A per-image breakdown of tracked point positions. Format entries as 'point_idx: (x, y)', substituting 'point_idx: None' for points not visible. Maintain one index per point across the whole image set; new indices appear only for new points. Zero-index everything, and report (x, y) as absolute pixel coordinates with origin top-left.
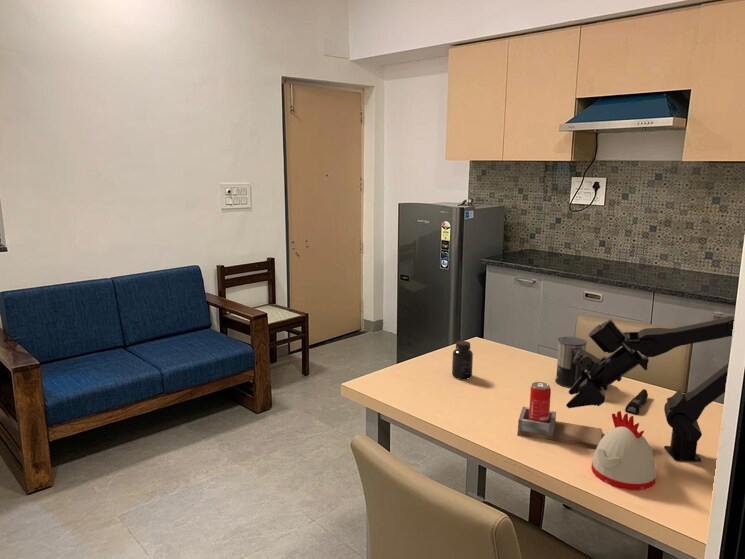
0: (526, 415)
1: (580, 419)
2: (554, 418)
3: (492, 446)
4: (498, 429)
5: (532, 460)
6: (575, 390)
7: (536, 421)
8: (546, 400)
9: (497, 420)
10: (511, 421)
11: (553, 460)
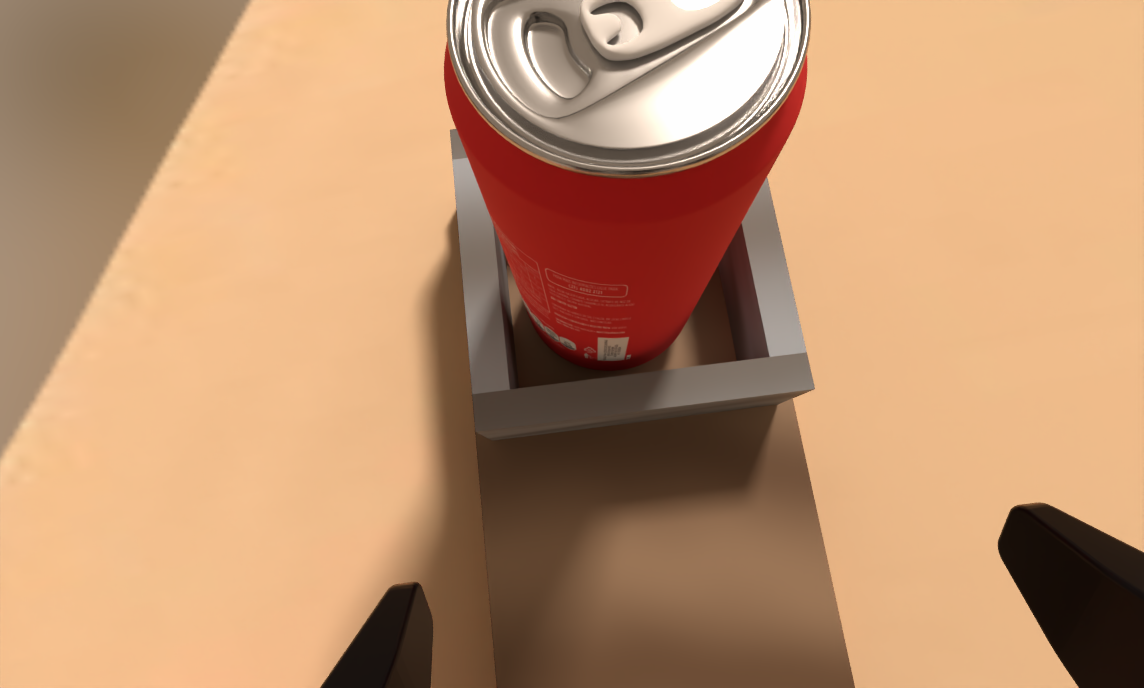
0: None
1: None
2: (643, 406)
3: (227, 107)
4: None
5: (127, 381)
6: (1101, 648)
7: (491, 270)
8: (525, 253)
9: None
10: None
11: (179, 519)
